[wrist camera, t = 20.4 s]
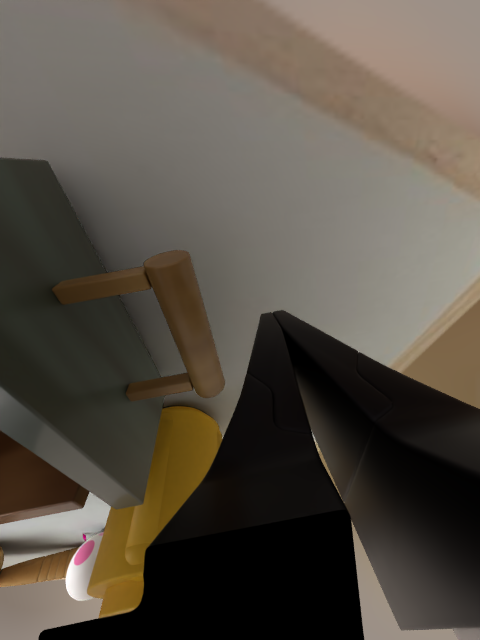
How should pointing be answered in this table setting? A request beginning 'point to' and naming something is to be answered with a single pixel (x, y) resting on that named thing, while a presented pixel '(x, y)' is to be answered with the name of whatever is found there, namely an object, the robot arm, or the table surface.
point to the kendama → (36, 569)
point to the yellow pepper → (153, 506)
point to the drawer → (82, 355)
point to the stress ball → (82, 568)
